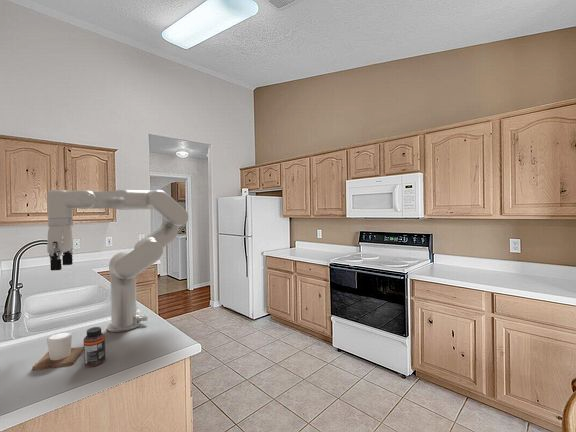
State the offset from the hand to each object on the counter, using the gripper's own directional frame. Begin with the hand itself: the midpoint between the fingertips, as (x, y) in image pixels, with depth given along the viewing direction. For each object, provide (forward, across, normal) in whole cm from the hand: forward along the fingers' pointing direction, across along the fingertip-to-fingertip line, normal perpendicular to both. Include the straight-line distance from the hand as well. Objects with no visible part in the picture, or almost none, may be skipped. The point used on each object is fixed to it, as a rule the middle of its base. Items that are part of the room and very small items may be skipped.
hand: (62, 267), depth 113 cm
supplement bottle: (+28, +22, +17) cm, 40 cm away
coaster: (+28, +16, +5) cm, 33 cm away
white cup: (+27, +16, +5) cm, 32 cm away
